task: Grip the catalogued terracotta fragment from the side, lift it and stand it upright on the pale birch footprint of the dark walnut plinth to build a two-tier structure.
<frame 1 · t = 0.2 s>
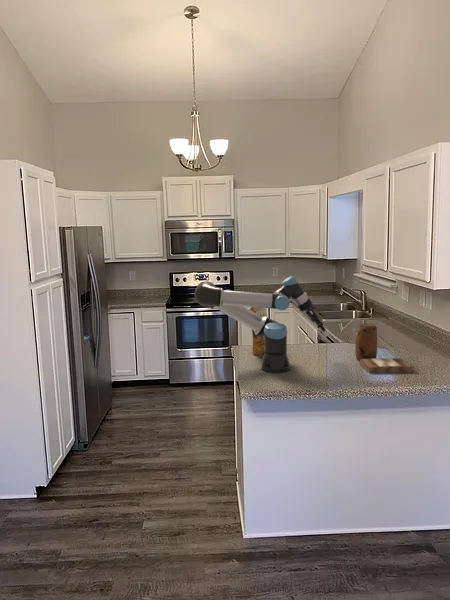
hand: (324, 332, 260), 16 cm above the countertop, tool tilted 35°, fingers open, 13 cm apart
plinth: (385, 368, 246), on the countertop
catalogued terracotta fragment: (365, 360, 263), on the countertop
pancake mix bag: (259, 352, 282), on the countertop
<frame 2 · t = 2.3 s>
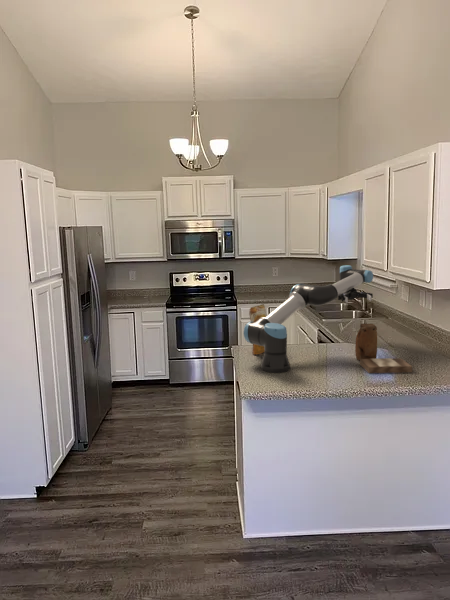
hand: (358, 299, 272), 32 cm above the countertop, tool horizontal, fingers open, 13 cm apart
nothing on the countertop moved.
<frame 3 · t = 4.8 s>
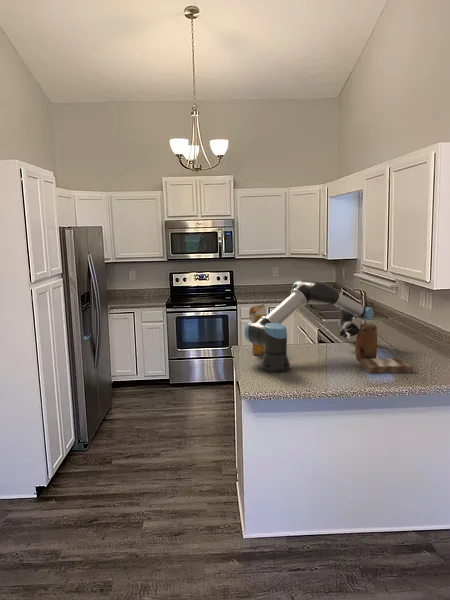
hand: (361, 336, 270), 11 cm above the countertop, tool horizontal, fingers open, 13 cm apart
nothing on the countertop moved.
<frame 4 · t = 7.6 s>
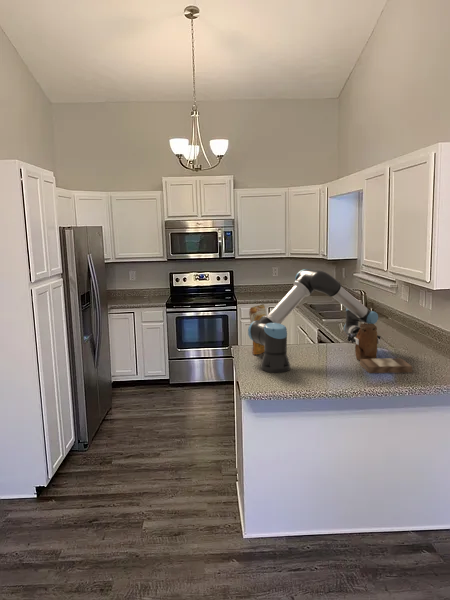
hand: (368, 342, 257), 11 cm above the countertop, tool horizontal, fingers closed on catalogued terracotta fragment, 11 cm apart
catalogued terracotta fragment: (365, 360, 263), on the countertop, touching gripper
everything else where it was.
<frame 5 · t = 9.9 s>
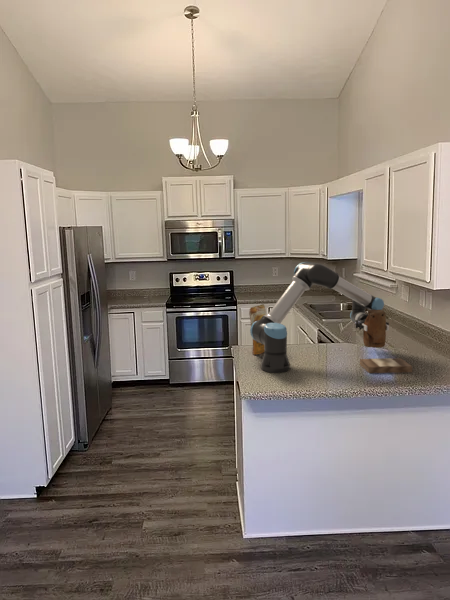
hand: (377, 328, 250), 20 cm above the countertop, tool horizontal, fingers closed on catalogued terracotta fragment, 11 cm apart
catalogued terracotta fragment: (373, 347, 256), point 9 cm above the countertop, touching gripper
everything else where it was.
when the fingers open (15 cm above the countertop, at t = 12.5 s): catalogued terracotta fragment drops 1 cm, resting on plinth.
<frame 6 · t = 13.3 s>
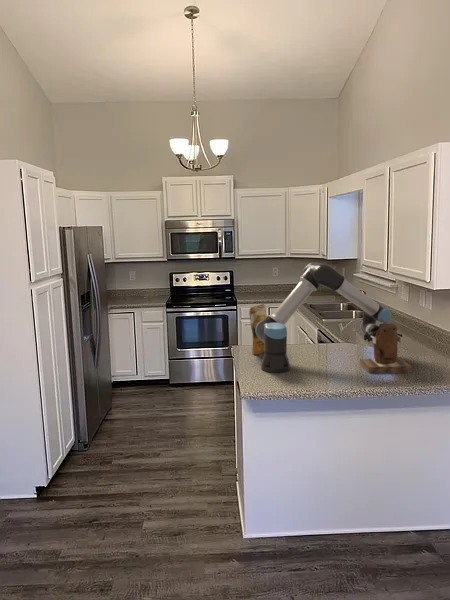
hand: (388, 340, 241), 16 cm above the countertop, tool horizontal, fingers open, 13 cm apart
catalogued terracotta fragment: (385, 362, 246), point 3 cm above the countertop, touching plinth
everything else where it was.
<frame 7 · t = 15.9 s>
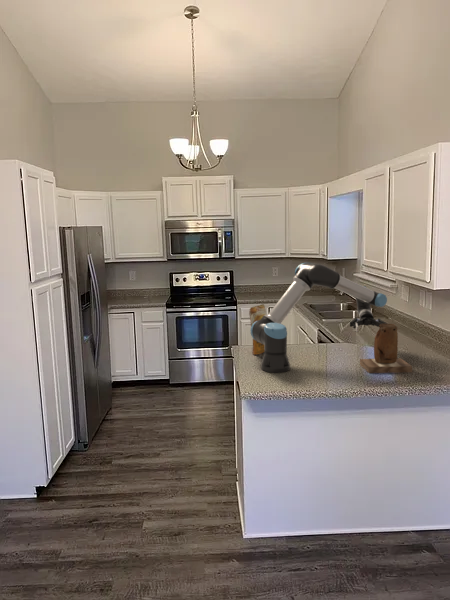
hand: (370, 330, 253), 18 cm above the countertop, tool horizontal, fingers open, 13 cm apart
nothing on the countertop moved.
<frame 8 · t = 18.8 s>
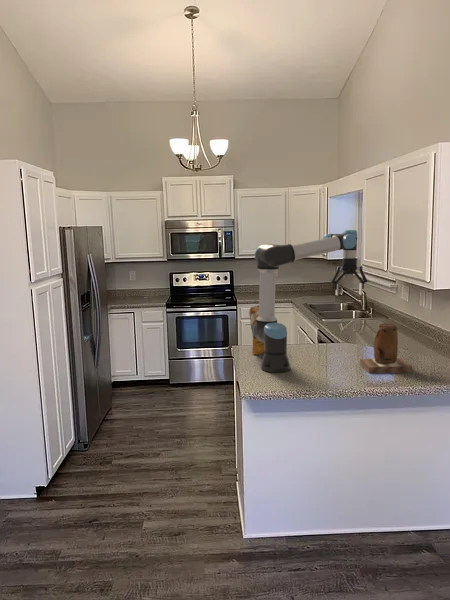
hand: (348, 295, 269), 35 cm above the countertop, tool pointing down, fingers open, 13 cm apart
nothing on the countertop moved.
at the end: catalogued terracotta fragment inside the target area (0.2 cm from its centre), point 3.1 cm above the countertop; catalogued terracotta fragment tilted 0°; the gripper is holding nothing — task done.
